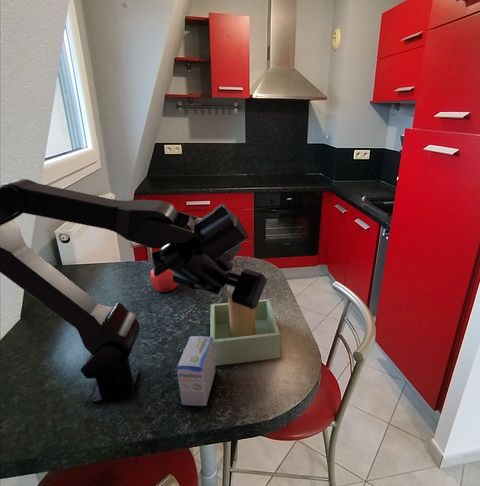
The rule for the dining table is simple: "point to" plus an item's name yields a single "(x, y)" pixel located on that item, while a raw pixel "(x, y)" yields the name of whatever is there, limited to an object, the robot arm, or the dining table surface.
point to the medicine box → (196, 371)
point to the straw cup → (240, 318)
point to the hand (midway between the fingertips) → (237, 292)
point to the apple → (163, 281)
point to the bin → (245, 346)
